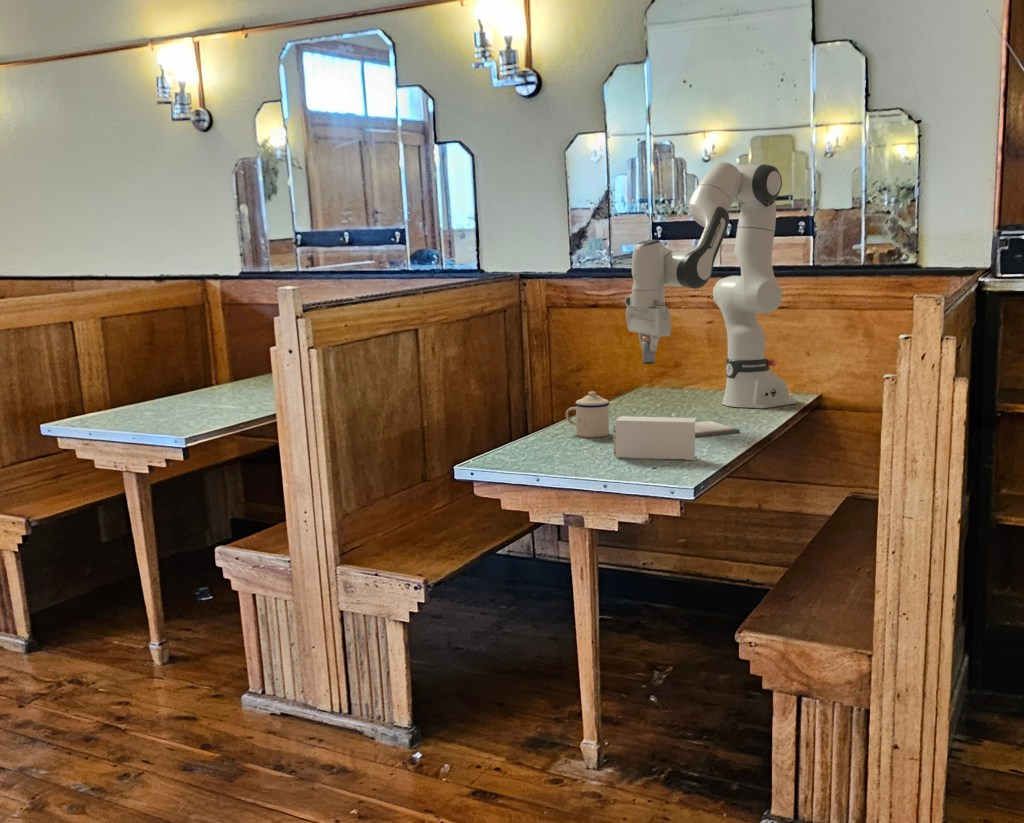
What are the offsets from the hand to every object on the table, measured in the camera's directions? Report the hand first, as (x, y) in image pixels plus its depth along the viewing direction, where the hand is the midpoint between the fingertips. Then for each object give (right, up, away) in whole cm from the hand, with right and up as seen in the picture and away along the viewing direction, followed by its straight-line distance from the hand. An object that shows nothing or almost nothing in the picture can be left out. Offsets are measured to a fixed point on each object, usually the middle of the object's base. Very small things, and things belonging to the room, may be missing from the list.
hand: (648, 350), depth 290 cm
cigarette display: (-4, -28, -38) cm, 47 cm away
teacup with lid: (-18, -23, -8) cm, 30 cm away
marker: (0, -4, +1) cm, 4 cm away
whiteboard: (+8, -23, -9) cm, 26 cm away
